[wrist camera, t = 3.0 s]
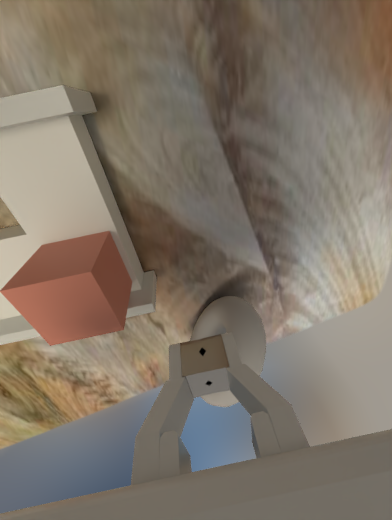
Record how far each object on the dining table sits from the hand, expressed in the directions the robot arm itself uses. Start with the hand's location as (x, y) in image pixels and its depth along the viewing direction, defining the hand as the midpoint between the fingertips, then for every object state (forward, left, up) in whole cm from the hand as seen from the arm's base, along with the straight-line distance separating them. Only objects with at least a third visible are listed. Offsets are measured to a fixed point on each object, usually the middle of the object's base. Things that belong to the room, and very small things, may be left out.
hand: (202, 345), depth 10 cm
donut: (+10, +1, -12) cm, 15 cm away
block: (-1, -8, -9) cm, 12 cm away
